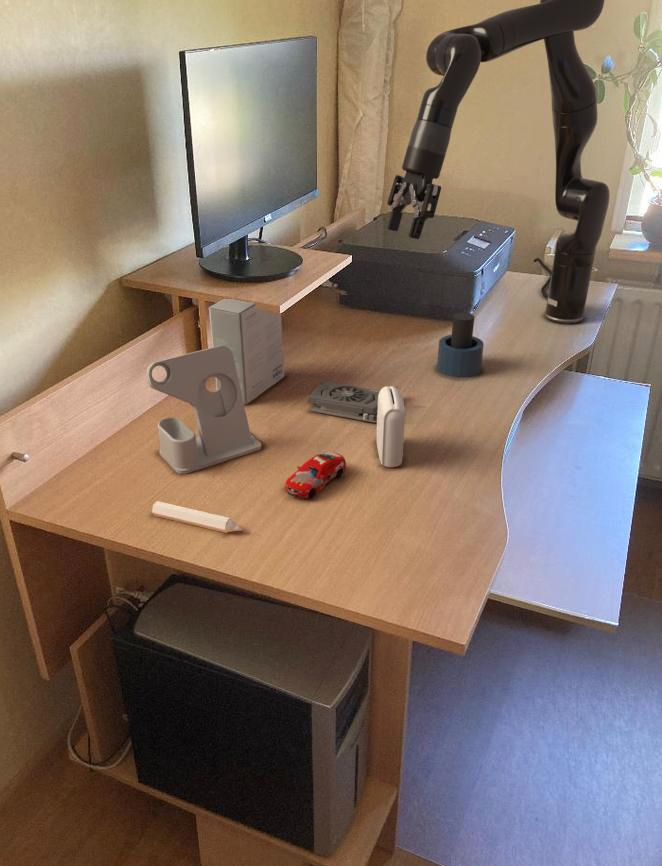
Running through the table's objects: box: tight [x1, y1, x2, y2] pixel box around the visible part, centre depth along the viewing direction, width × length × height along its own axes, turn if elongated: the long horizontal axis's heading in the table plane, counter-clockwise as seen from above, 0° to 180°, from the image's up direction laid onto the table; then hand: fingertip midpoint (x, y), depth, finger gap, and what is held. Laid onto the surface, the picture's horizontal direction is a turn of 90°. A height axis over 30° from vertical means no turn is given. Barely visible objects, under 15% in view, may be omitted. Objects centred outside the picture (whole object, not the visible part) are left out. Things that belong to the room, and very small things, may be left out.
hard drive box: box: [208, 290, 285, 406], centre depth 161 cm, size 16×8×20 cm, turn 150°
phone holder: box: [145, 346, 262, 475], centre depth 139 cm, size 17×10×18 cm, turn 122°
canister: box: [451, 312, 475, 349], centre depth 169 cm, size 4×4×12 cm
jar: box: [436, 334, 485, 379], centre depth 171 cm, size 9×10×6 cm
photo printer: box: [375, 385, 406, 468], centre depth 139 cm, size 10×4×12 cm, turn 0°
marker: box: [151, 500, 244, 534], centre depth 124 cm, size 3×2×16 cm
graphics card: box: [306, 380, 399, 424], centre depth 158 cm, size 17×4×12 cm
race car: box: [284, 450, 347, 499], centre depth 133 cm, size 13×5×4 cm, turn 140°
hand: (402, 234), depth 157 cm, fingers open, 8 cm apart
